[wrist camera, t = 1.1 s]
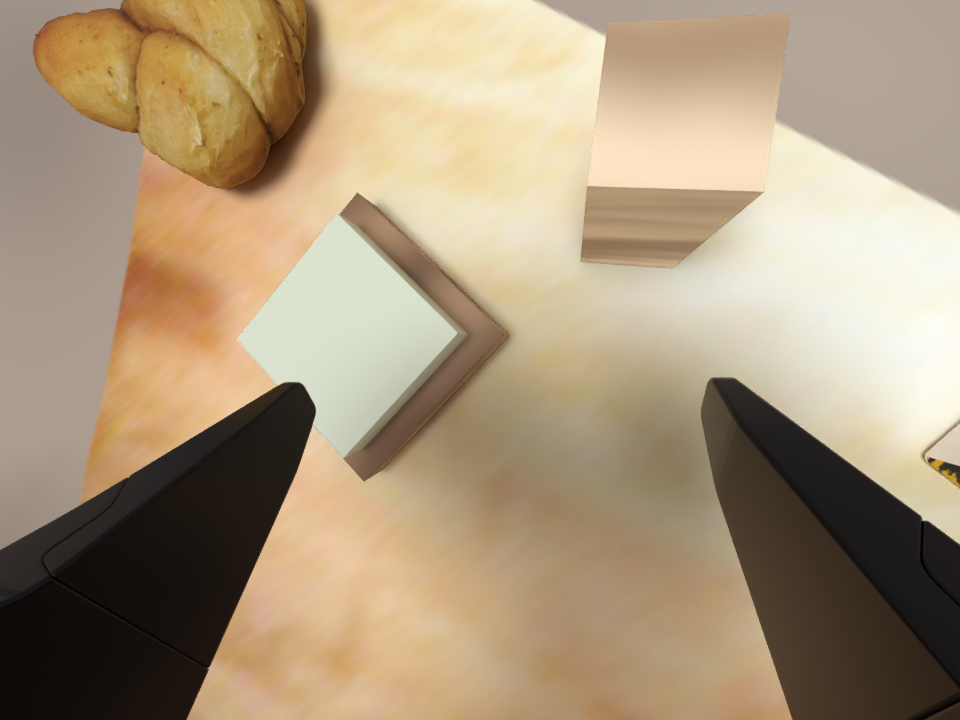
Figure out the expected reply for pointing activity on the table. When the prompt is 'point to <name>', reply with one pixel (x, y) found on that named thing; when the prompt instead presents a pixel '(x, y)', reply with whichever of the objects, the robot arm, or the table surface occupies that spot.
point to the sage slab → (351, 335)
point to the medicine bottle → (947, 455)
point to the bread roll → (185, 77)
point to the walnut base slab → (453, 370)
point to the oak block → (680, 133)
